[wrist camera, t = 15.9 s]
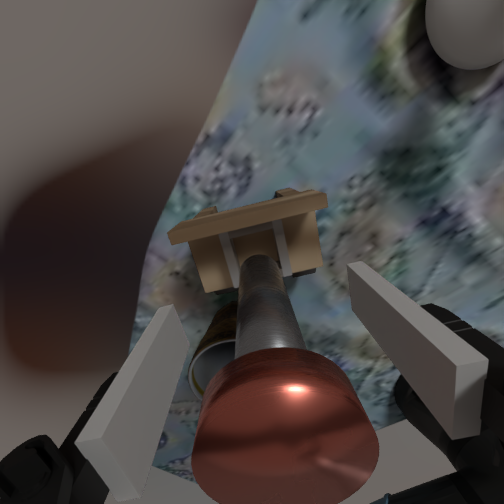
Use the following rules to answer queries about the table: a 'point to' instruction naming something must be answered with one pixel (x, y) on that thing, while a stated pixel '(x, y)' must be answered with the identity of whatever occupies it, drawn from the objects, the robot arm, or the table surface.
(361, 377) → the table surface
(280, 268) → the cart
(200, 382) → the ceramic cup
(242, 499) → the pin
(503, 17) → the flower in vase
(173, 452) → the table surface
